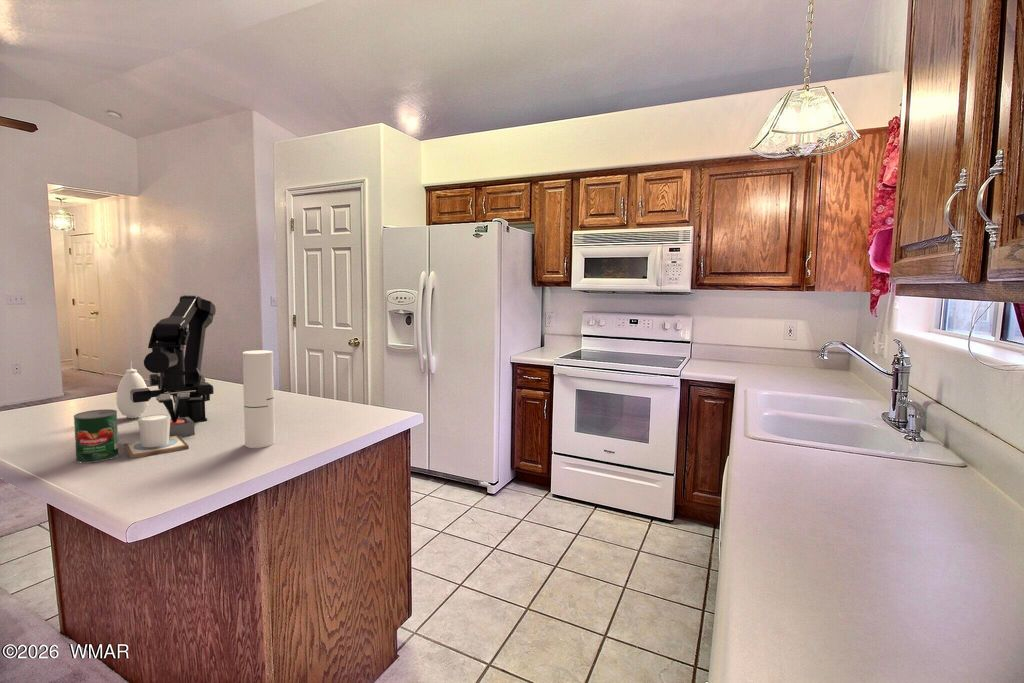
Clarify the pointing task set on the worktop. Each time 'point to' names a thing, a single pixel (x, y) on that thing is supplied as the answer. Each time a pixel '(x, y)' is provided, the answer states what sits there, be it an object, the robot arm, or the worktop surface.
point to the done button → (177, 422)
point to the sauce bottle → (123, 394)
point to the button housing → (182, 427)
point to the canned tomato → (96, 435)
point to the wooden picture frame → (138, 450)
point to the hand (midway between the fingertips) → (174, 421)
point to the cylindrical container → (258, 398)
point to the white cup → (154, 430)
